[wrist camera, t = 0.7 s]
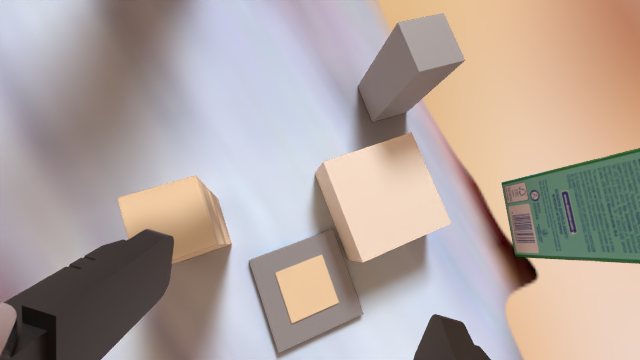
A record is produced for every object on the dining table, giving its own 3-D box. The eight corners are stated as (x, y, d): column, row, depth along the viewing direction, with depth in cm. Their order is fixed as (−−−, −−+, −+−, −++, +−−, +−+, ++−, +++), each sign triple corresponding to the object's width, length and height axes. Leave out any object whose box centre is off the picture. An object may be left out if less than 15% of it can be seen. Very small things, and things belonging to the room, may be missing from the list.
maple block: (168, 214, 29) (117, 198, 19) (217, 198, 31) (195, 175, 20) (182, 261, 29) (137, 272, 18) (231, 243, 30) (216, 244, 19)
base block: (314, 173, 33) (323, 161, 29) (391, 147, 36) (411, 132, 31) (347, 259, 32) (362, 262, 27) (424, 226, 35) (451, 223, 30)
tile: (249, 260, 30) (248, 260, 29) (331, 229, 32) (333, 229, 32) (278, 351, 29) (278, 353, 28) (361, 312, 31) (363, 314, 30)
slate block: (357, 86, 36) (398, 22, 26) (391, 77, 38) (443, 13, 27) (372, 122, 36) (419, 71, 25) (406, 112, 37) (465, 60, 26)
